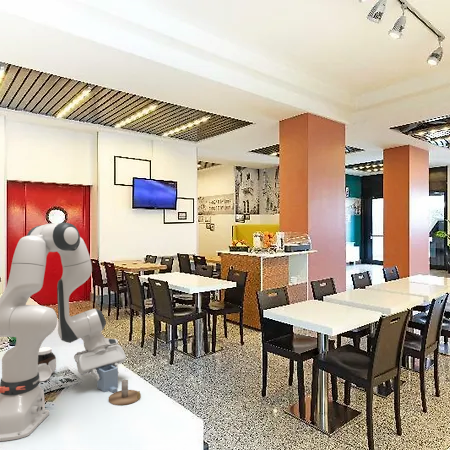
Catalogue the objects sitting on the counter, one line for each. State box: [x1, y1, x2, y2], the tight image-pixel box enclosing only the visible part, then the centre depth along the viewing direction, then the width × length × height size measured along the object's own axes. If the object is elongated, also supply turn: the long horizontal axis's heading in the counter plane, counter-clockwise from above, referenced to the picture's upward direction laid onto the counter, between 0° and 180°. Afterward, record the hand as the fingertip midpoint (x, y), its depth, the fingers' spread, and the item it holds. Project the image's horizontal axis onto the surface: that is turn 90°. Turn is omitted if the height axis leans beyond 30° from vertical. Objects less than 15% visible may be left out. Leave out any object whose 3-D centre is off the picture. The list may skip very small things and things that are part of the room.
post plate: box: [108, 379, 142, 406], centre depth 148 cm, size 12×12×7 cm
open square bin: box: [96, 364, 119, 394], centre depth 156 cm, size 9×6×8 cm, turn 45°
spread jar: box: [38, 346, 57, 382], centre depth 169 cm, size 12×11×12 cm
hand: (108, 376), depth 157 cm, fingers open, 6 cm apart
